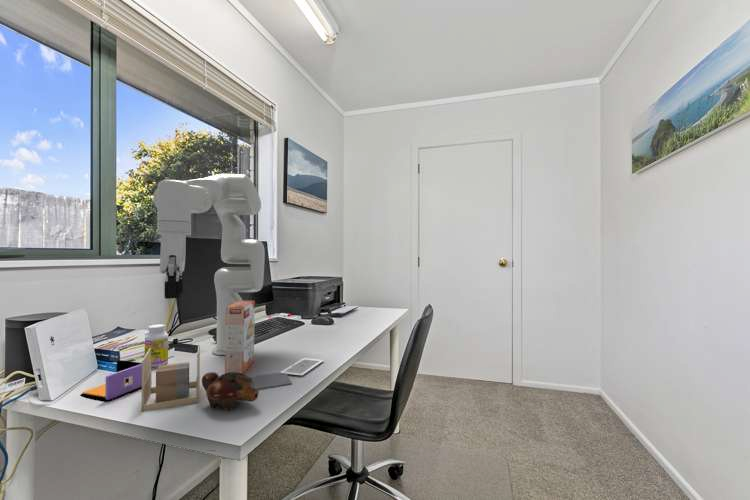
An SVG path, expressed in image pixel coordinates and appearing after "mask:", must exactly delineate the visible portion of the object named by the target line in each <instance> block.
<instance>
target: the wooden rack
mask: <svg viewBox="0 0 750 500" xmlns="http://www.w3.org/2000/svg"><path fill="white" fill-rule="evenodd" d="M197 345H198V346H197V355H196V380H195V381H193V380H191V381H189V388H194V387H196V396H190V397H189V396H188V398H183V399H177V400H171V401H164V402H158V403H156V402H153V403H152V402H151V403H148V401H149V398H150V397H151V394H153V393H156V386H152V367H151V348H149V350H148V352H147V353H146V355H145V354H144V357H143V358H142V360H141V363H142V389H141V412H144V411H151V410H157V409H164V408H170V407H171V408H172V407H176V406H181V405H189V404H196V403H199V400H200V397H199V396H200V387H201V386H200V384H201V383H200V382H201V381H200V378H201V376H200V374H201V373H200V366H201V365H200V364H201V363H200V360H201V358H200V356H201V354H200V353H201V348H200V347H201V343H200V342H199V343H198V344H197Z"/></svg>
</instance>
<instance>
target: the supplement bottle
mask: <svg viewBox="0 0 750 500" xmlns="http://www.w3.org/2000/svg"><path fill="white" fill-rule="evenodd" d="M147 329H148V334H146V335H145V336H144V356H145V355H146V353H147V352H148V350H149V348H151V368H158V366H161V365H167V363H168V362H169V334H168V333H167V332H166V331H165V329H166V325H165V324H160V323H159V324H152V325H149V326H148V328H147Z"/></svg>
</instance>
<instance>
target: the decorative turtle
mask: <svg viewBox="0 0 750 500" xmlns="http://www.w3.org/2000/svg"><path fill="white" fill-rule="evenodd" d="M201 385H202V387H203V389H204V391H205V395H206V398H207V400H208V404H209V406H210V408H211V409H213V410H217V409H218V408H219V407H220V406H222V408H223V409H224V410H226V411H227V412H230V411H232V410H233V409H234V407H235V405H236V404H237V402H238V401H240V402H255V401H256V400H257V399H258V397H259V392H260V390H257V389H256V388H254V386H253V383H252V380H251V377H249V376H248V375H246V374H245V373H244V374H241V373H237V372H230V373H225V372H224V373H223V374H221V375H219V373H217V372H213V371H211V372H207V373H205V374H203V376H202V378H201Z"/></svg>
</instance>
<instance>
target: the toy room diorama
mask: <svg viewBox="0 0 750 500" xmlns="http://www.w3.org/2000/svg"><path fill="white" fill-rule="evenodd" d="M138 391H142V362H139V361H137V362H136V361H130V360H122V359H121V360H117V361H116V372H113V373H111V374H108V375H105V383H104V384H101V385H99V386H96V387H93V388H91V389H88V390H85V391H82V393H80V394H79V396H80V397H82V398H85V399H88V400H93V401H97V402H104V403H109V402H113V401H115V400H119V399H121V398H123V397H126V396H128V395H131V394H133V393H135V392H138Z"/></svg>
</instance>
